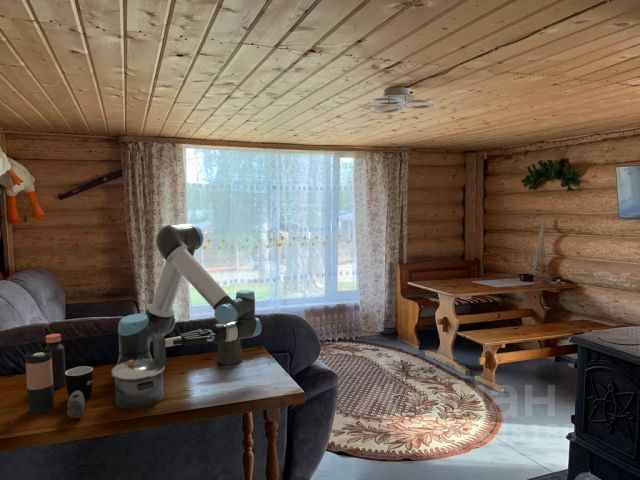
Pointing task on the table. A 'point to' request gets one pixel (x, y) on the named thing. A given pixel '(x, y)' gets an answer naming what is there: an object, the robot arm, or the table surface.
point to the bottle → (57, 359)
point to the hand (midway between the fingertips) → (163, 343)
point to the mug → (79, 380)
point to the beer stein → (229, 352)
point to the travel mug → (39, 381)
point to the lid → (143, 363)
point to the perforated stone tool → (76, 404)
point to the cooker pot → (139, 392)
